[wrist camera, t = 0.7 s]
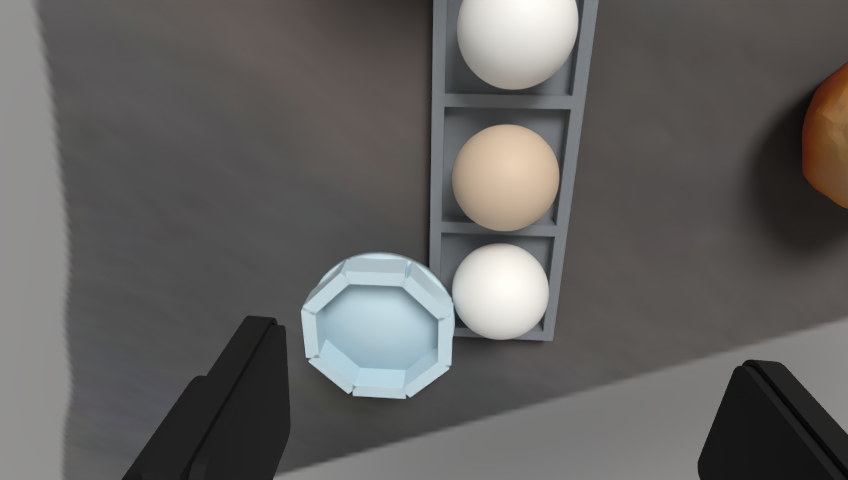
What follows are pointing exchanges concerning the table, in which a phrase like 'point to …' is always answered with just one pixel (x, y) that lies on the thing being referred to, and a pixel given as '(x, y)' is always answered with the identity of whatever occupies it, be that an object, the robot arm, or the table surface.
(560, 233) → the egg tray
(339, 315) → the egg cup
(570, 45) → the white egg
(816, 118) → the fruit
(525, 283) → the white egg
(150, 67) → the table surface
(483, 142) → the egg brown
